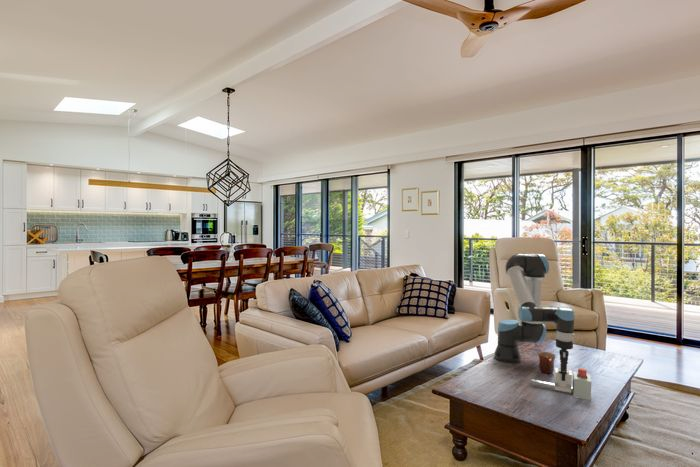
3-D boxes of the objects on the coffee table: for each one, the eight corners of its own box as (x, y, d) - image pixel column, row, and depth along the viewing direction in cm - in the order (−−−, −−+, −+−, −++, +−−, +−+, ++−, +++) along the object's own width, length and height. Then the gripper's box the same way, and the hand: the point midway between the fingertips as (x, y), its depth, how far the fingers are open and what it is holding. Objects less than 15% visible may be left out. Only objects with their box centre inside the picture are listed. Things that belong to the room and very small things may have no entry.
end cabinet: (572, 396, 186) (573, 378, 186) (572, 388, 195) (572, 371, 195) (590, 400, 183) (591, 381, 182) (589, 392, 192) (589, 374, 191)
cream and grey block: (554, 389, 191) (555, 371, 191) (554, 384, 197) (555, 366, 197) (571, 392, 188) (571, 374, 187) (570, 387, 194) (571, 369, 194)
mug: (535, 369, 221) (536, 351, 220) (552, 370, 219) (552, 352, 218) (541, 377, 209) (542, 358, 208) (559, 379, 207) (559, 360, 207)
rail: (530, 385, 198) (530, 380, 198) (531, 383, 201) (531, 379, 200) (575, 394, 189) (575, 389, 189) (575, 392, 191) (575, 387, 191)
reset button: (578, 376, 188) (578, 370, 188) (577, 373, 191) (577, 367, 191) (586, 377, 186) (586, 371, 186) (586, 375, 189) (586, 369, 189)
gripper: (574, 348, 179) (572, 393, 180) (572, 333, 201) (570, 373, 202) (555, 345, 182) (554, 389, 184) (556, 331, 204) (554, 370, 206)
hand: (562, 381), depth 193 cm, fingers open, 13 cm apart
